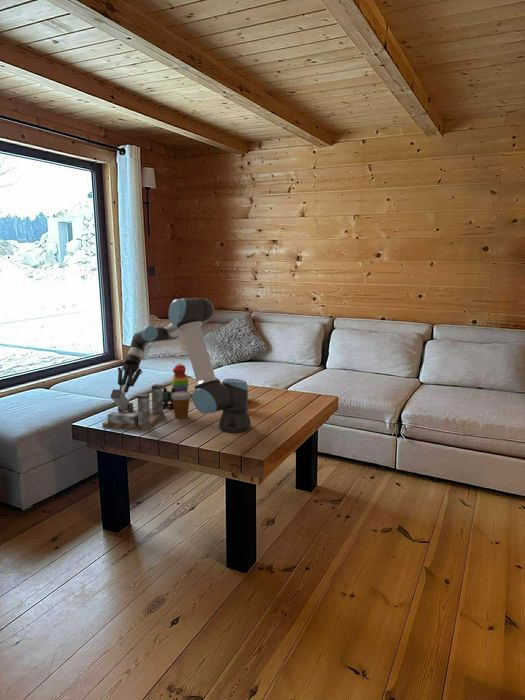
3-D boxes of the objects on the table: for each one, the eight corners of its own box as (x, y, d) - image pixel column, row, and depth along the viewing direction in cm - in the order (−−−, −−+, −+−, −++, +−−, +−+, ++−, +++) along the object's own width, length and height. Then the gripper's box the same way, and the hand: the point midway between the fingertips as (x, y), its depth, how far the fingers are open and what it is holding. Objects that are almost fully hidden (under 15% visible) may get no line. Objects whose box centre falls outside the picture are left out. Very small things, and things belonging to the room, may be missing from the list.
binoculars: (156, 392, 250) (162, 385, 260) (157, 411, 253) (163, 404, 263) (173, 393, 249) (178, 386, 259) (174, 412, 252) (179, 404, 262)
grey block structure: (164, 415, 244) (163, 384, 241) (147, 430, 223) (146, 396, 220) (122, 412, 247) (120, 382, 244) (101, 427, 226) (99, 393, 223)
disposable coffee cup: (194, 416, 243) (194, 393, 241) (178, 421, 236) (178, 397, 234) (183, 412, 250) (183, 390, 247) (167, 416, 243) (167, 393, 241)
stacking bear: (171, 391, 288) (170, 362, 285) (188, 391, 290) (187, 362, 286) (171, 396, 277) (170, 366, 274) (188, 396, 279) (188, 366, 276)
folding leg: (130, 403, 245) (120, 389, 233) (128, 410, 242) (118, 397, 231) (122, 403, 245) (112, 389, 234) (120, 410, 243) (110, 396, 231)
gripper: (148, 362, 256) (136, 402, 243) (124, 361, 258) (111, 400, 245) (143, 354, 249) (131, 394, 237) (119, 353, 251) (105, 393, 239)
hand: (121, 397), depth 241 cm, fingers closed
